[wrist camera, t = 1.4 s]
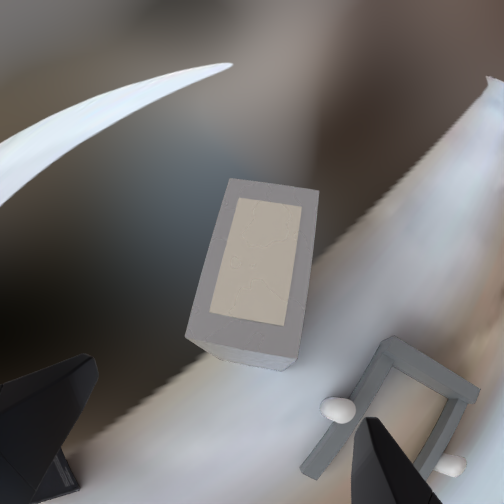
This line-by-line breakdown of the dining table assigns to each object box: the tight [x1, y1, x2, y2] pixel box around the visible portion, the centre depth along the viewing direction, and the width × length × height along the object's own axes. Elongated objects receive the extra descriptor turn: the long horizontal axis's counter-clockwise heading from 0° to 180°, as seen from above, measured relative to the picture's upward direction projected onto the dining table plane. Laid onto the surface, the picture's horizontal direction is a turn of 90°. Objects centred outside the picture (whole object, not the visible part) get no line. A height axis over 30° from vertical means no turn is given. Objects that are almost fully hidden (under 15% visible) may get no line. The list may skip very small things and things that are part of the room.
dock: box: [300, 336, 481, 481], centre depth 15 cm, size 11×13×4 cm
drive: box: [185, 178, 319, 371], centre depth 17 cm, size 8×4×10 cm, turn 169°
